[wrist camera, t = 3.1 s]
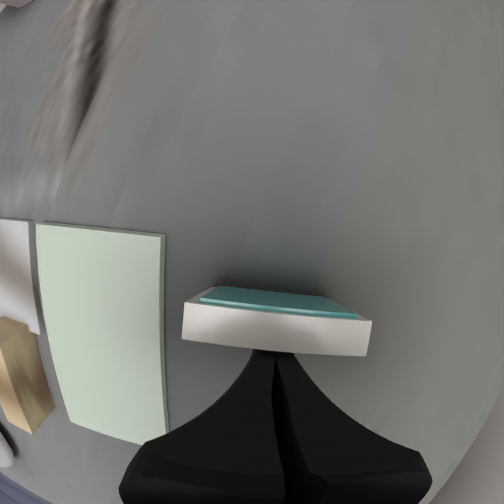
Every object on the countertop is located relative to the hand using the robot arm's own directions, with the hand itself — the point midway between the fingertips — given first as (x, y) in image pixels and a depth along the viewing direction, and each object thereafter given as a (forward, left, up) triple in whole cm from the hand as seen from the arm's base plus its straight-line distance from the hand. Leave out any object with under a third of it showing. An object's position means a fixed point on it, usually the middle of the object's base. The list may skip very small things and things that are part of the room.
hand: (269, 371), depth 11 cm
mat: (-4, +9, -5) cm, 11 cm away
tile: (0, 0, -5) cm, 5 cm away
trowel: (-8, +17, -5) cm, 19 cm away
